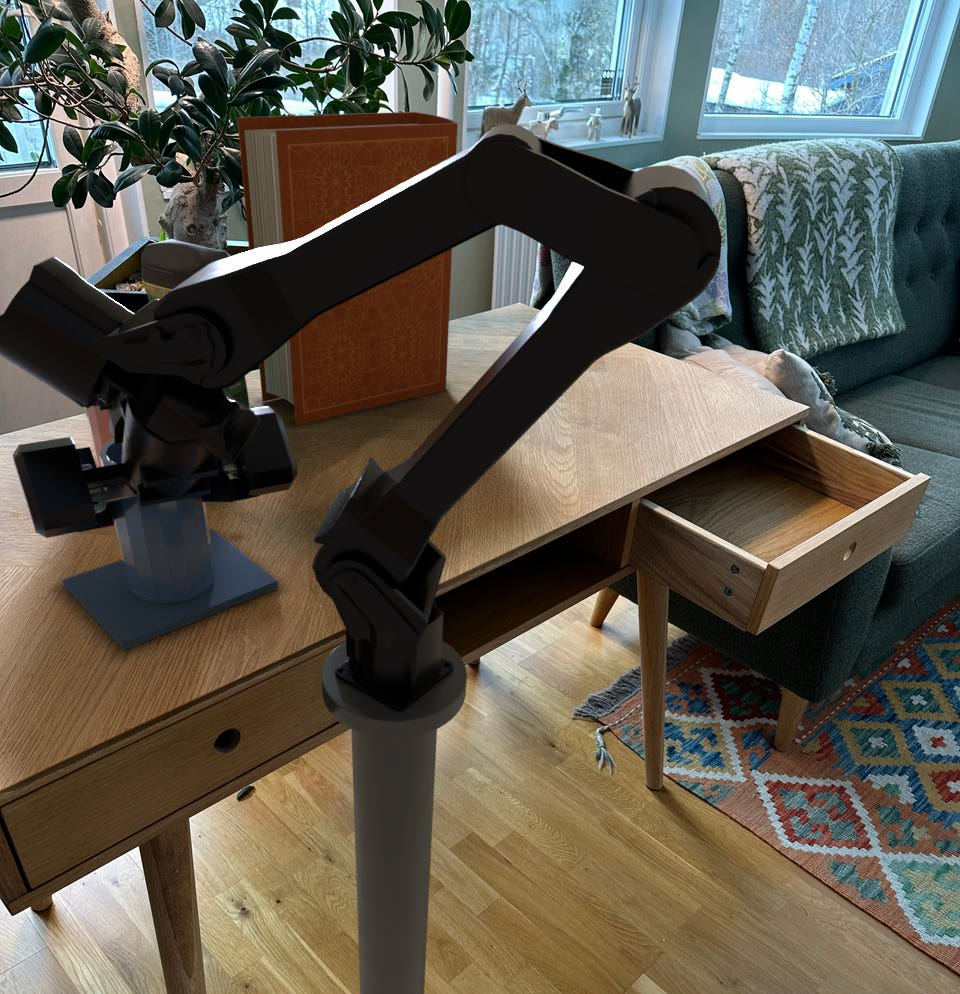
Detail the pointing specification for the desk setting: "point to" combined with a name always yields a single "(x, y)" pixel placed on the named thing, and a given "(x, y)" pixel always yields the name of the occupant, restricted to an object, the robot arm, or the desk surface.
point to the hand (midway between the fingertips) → (155, 503)
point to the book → (316, 203)
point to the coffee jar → (181, 279)
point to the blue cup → (162, 543)
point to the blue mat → (145, 620)
